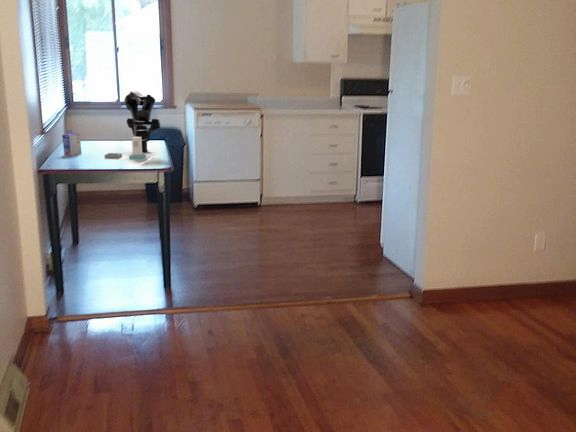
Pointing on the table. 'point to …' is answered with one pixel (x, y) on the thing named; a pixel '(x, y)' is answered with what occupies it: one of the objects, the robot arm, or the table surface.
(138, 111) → the robot arm
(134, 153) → the plug
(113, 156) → the socket board
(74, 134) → the ink cartridge box
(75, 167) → the table surface
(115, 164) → the table surface
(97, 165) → the table surface
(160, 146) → the table surface
